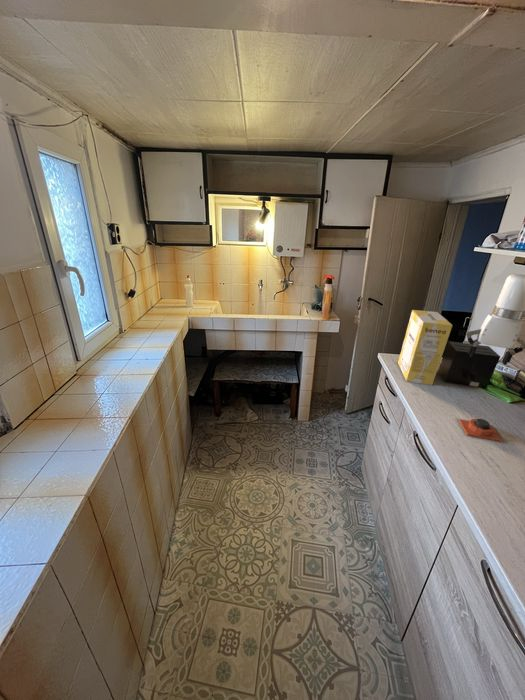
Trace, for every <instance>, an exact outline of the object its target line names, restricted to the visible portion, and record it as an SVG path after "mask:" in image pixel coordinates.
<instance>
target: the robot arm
mask: <svg viewBox="0 0 525 700" xmlns="http://www.w3.org/2000/svg"><path fill="white" fill-rule="evenodd" d="M523 318H525V274H521V273H513V274H509V275H508V276H507V277H506V279H505V281H504V283H503V286H502V288H501V291H500V293H499V296H498V298H497V301H496V302H495V306H494V308H493V310H492V313H488V314H487V316H486V318H484V321H483V322H482V324H481V326H480V328H479V329H475V330H470V331H466V333H465V334H466V338H467V341H469V343H470V344H471V347H470V350H469V352H468V354H470V357H471V358H472V357H473V356H474V353H475V351H476V346H477V345H481V344H483V345H486V346H491V347H496V348H497V347H498V348H502V349H507V350H508V351H506V352H505V354H504V356H503V358H502V360H501V362H502V364H503V365H504V366H507V365H508V364H509V363H510V362H511V360H512V358H513V356H515V355H516V354H519V353H521V352H523V350H525V340H524V339H522V338H521V337H520V333H521V330H522V325H523ZM476 335H477V336H476ZM473 336H476V339H473V338H472V337H473ZM517 343H518V344H520V345H519V346H517V347H515V346H516V344H517Z"/></svg>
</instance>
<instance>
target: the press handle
mask: <svg viewBox="0 0 525 700" xmlns="http://www.w3.org/2000/svg"><path fill="white" fill-rule="evenodd" d="M465 380H466V381H467V382H468V384H469V385H471V386H470V387H472V386H477V387H476V388H479V387H478V385H479V382H478V381H477V379H476V378H475V377H474V376H471V375H466V376H465Z"/></svg>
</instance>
